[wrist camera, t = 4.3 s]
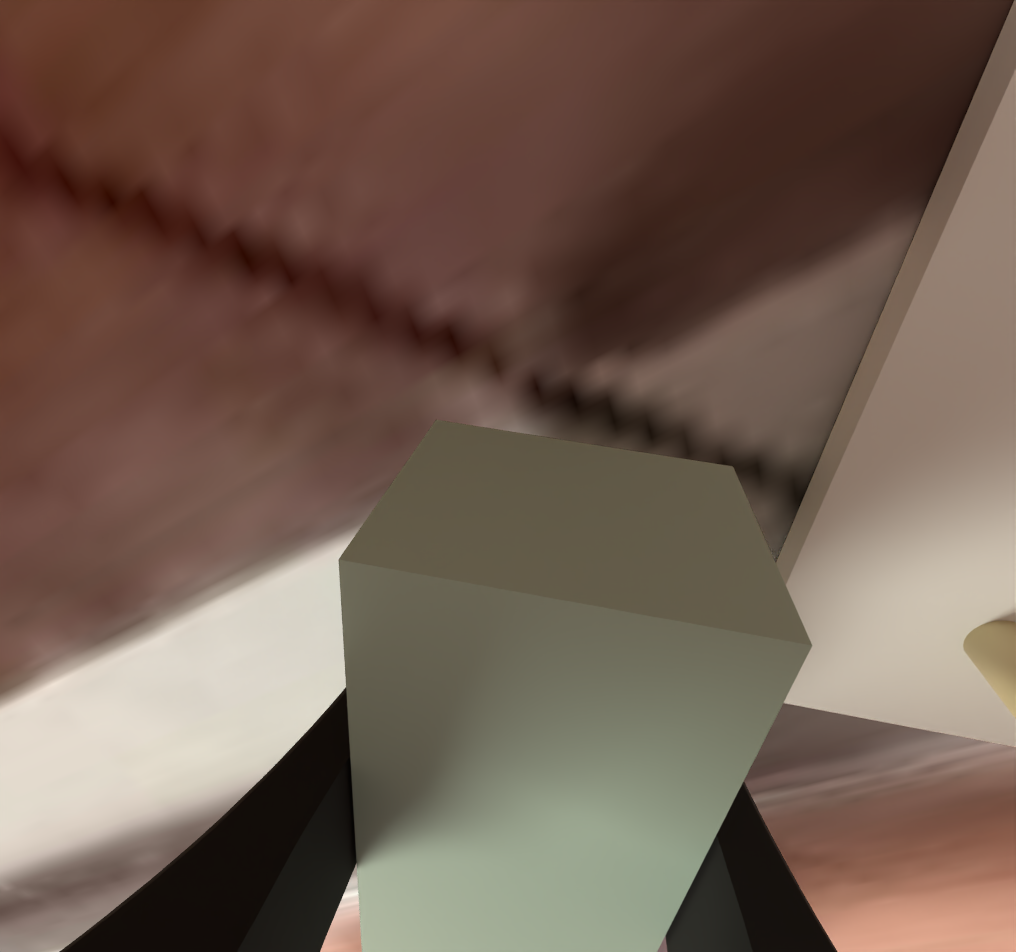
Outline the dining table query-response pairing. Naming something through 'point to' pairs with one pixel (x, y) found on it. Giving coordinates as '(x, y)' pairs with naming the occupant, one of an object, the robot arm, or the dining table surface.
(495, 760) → the rectangular block
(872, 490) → the cream peg board
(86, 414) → the dining table surface
